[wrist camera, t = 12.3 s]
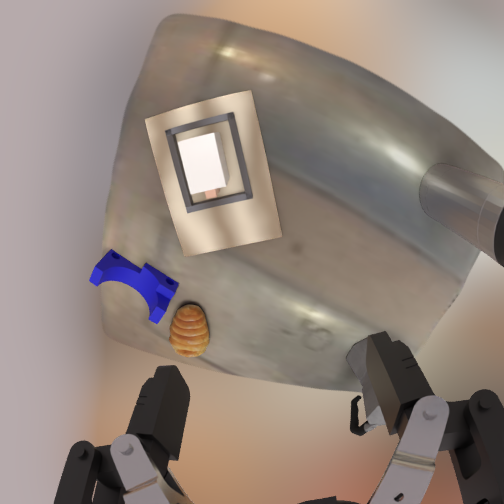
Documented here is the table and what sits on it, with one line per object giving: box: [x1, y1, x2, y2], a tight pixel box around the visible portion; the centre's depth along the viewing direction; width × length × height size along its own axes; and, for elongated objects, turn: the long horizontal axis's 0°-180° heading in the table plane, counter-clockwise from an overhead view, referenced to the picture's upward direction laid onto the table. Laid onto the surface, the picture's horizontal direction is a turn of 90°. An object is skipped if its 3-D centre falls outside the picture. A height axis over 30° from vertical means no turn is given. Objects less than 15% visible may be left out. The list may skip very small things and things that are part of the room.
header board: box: [145, 90, 282, 257], centre depth 35 cm, size 14×20×2 cm
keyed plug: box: [178, 132, 230, 199], centre depth 32 cm, size 4×7×6 cm, turn 11°
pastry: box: [169, 305, 209, 357], centre depth 44 cm, size 9×7×4 cm
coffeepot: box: [346, 338, 386, 436], centre depth 42 cm, size 15×9×18 cm, turn 143°
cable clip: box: [89, 249, 179, 324], centre depth 40 cm, size 12×4×6 cm, turn 54°
